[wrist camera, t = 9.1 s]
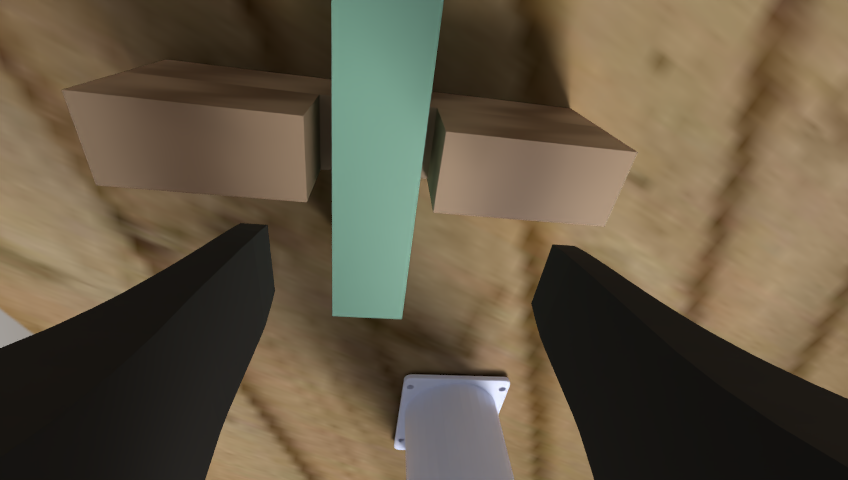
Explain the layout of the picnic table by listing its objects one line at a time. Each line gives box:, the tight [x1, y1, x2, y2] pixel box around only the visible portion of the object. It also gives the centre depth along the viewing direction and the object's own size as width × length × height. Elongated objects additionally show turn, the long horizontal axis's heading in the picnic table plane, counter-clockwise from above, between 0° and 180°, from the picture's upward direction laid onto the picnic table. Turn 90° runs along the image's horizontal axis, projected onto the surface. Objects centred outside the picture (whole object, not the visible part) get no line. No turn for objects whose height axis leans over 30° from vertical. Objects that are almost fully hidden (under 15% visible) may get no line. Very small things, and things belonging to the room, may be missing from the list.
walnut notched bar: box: [62, 59, 638, 226], centre depth 15 cm, size 18×3×6 cm, turn 83°
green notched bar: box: [331, 0, 444, 319], centre depth 15 cm, size 14×3×6 cm, turn 173°
